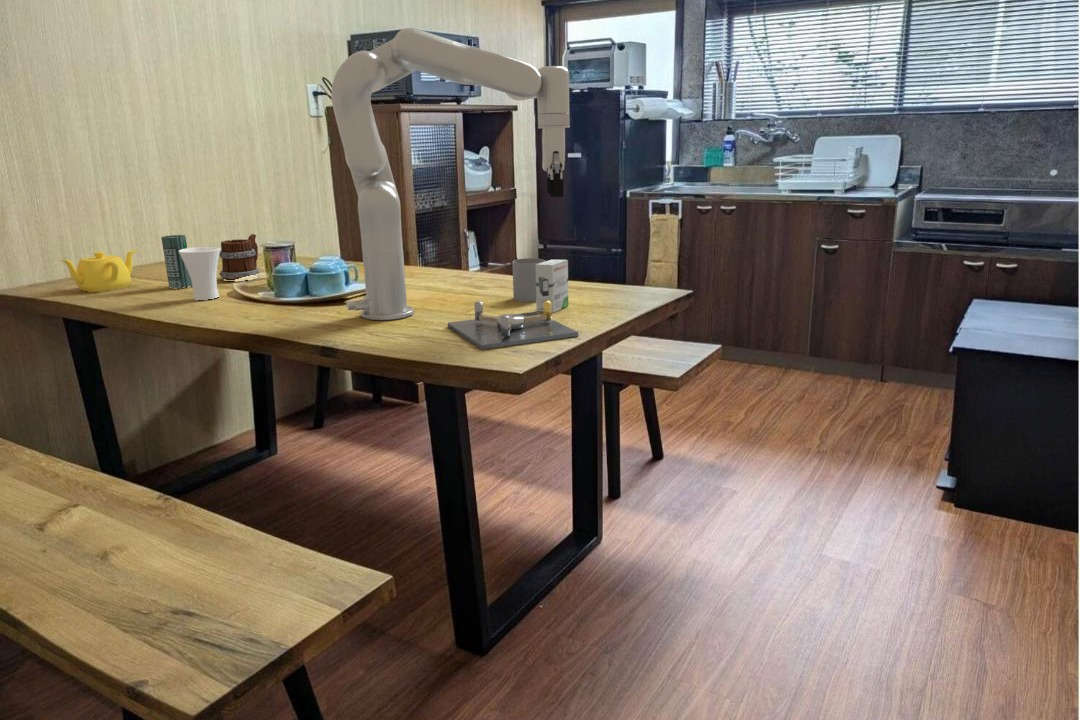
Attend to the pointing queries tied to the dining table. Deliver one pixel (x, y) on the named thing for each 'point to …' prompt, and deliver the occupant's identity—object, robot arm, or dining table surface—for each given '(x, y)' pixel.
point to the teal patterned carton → (175, 261)
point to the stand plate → (511, 332)
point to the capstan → (512, 318)
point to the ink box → (552, 284)
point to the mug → (239, 258)
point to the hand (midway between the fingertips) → (555, 195)
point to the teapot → (102, 272)
